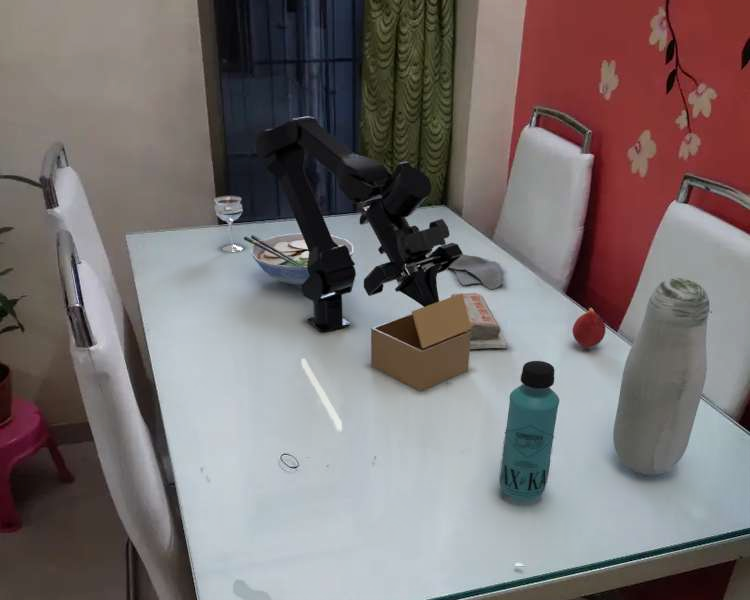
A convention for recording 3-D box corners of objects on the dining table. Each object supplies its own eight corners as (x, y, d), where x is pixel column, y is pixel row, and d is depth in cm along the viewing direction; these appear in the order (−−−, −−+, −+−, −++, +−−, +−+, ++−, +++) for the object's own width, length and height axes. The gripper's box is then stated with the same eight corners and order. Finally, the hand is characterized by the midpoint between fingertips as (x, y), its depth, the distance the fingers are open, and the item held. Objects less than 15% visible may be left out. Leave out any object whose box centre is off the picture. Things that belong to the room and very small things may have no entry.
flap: (470, 328, 135) (471, 328, 135) (421, 348, 129) (423, 348, 129) (460, 293, 134) (462, 293, 134) (411, 311, 127) (413, 311, 127)
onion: (604, 345, 148) (611, 305, 144) (598, 357, 144) (605, 317, 140) (574, 339, 150) (580, 300, 146) (567, 351, 146) (572, 311, 142)
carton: (468, 370, 140) (471, 332, 136) (420, 391, 133) (422, 352, 129) (418, 347, 148) (419, 310, 144) (371, 366, 141) (371, 328, 137)
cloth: (524, 285, 174) (525, 275, 173) (468, 292, 171) (469, 282, 169) (473, 248, 195) (474, 239, 194) (422, 255, 191) (423, 245, 190)
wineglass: (219, 244, 198) (214, 196, 191) (246, 243, 198) (242, 195, 192) (218, 253, 192) (212, 203, 186) (245, 252, 193) (241, 203, 186)
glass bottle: (694, 479, 111) (744, 292, 96) (630, 491, 109) (672, 301, 94) (654, 443, 119) (695, 265, 104) (594, 453, 117) (627, 273, 102)
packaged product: (440, 291, 158) (489, 289, 159) (439, 313, 161) (487, 312, 162) (456, 327, 143) (510, 326, 144) (455, 352, 146) (507, 349, 147)
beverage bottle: (492, 483, 110) (505, 355, 100) (539, 481, 111) (557, 353, 100) (503, 511, 105) (518, 378, 94) (551, 508, 106) (572, 376, 95)
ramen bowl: (377, 287, 173) (377, 250, 169) (286, 310, 162) (284, 272, 158) (319, 255, 191) (318, 222, 186) (233, 274, 180) (230, 239, 175)
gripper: (374, 216, 120) (422, 304, 120) (458, 194, 131) (503, 275, 130) (343, 253, 130) (387, 335, 129) (423, 230, 140) (465, 306, 139)
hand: (437, 312), depth 131 cm, fingers closed, pressing on flap
